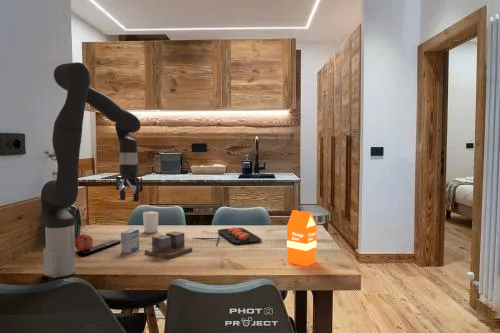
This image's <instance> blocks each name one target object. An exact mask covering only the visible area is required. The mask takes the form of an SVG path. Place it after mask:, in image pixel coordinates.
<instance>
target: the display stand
mask: <svg viewBox="0 0 500 333" xmlns="http://www.w3.org/2000/svg"><path fill="white" fill-rule="evenodd" d="M190 252H193V247H191V246H186V245H185V232H182V231H176V230H174V231H171V232H166V233H165V234H158V235H155V236H152V237H151V248H147V249H144V254H145V255H148V256H154V257H157V258H162V259H166V260H171V259H173V258H176V257H179V256H182V255H185V254H187V253H190Z"/></svg>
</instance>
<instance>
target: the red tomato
mask: <svg viewBox="0 0 500 333" xmlns="http://www.w3.org/2000/svg"><path fill="white" fill-rule="evenodd" d="M93 242H94V241H93V237H92V236H91V235H87V234H84V233H83V234H79V235H78V236H77V237H76V238H75V250H76V251H78V252H84V251H83V250H88V249H90V250H91V249H92V248H93V246H94V244H93ZM88 251H89V250H88Z"/></svg>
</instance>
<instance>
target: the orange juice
mask: <svg viewBox="0 0 500 333" xmlns="http://www.w3.org/2000/svg"><path fill="white" fill-rule="evenodd" d="M286 238H287V239H286V262H287V263H289V262H290V263H289V264H294V265H299V266H303V267H308V266H310V265H313V264H314V263H316V262H317V224H316V220H315V218H314V215H313V213H312V212H310V211H303V210H297V209H296V210H295V209H292V210H291V213H290V216H289V219H288V223H287V225H286Z"/></svg>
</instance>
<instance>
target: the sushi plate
mask: <svg viewBox="0 0 500 333" xmlns="http://www.w3.org/2000/svg"><path fill="white" fill-rule="evenodd" d="M217 232H218V236H217V237H193V240H194V239H196V240H217V241H216V245H215V247H218V244H219V240H221V239H222V240H224V239H225V240H228V241H230V243H233V244H249V243H250V244H251V243H256V242H261V241H262V238H261V237H259V236H258V235H256V234H254V233H253V232H250V231H249V230H247V229H245V228H243V227H233V226H232V227H229V228H220V229H217ZM220 235H222V237H220Z"/></svg>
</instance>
